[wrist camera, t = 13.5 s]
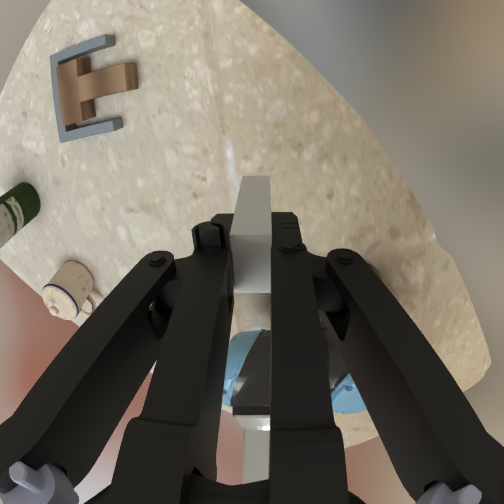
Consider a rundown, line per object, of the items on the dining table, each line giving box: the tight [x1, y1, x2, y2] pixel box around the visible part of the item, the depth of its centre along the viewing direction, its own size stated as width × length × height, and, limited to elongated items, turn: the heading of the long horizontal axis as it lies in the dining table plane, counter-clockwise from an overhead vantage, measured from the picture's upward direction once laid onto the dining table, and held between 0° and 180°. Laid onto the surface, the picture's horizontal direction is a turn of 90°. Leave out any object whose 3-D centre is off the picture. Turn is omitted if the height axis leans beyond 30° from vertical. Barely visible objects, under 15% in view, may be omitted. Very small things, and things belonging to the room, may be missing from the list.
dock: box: [50, 35, 123, 143], centre depth 34 cm, size 11×15×3 cm
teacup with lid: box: [42, 261, 96, 320], centre depth 51 cm, size 12×9×12 cm
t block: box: [56, 59, 138, 126], centre depth 33 cm, size 12×10×4 cm
